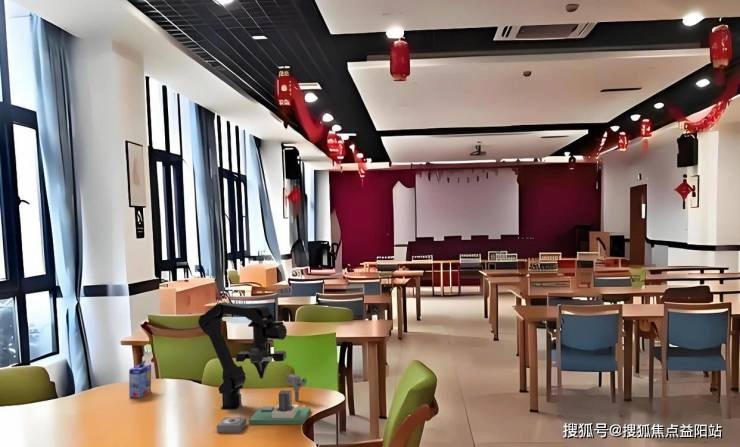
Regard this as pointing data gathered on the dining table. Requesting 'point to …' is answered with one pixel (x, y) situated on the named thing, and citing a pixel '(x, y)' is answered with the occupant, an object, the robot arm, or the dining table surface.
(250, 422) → the board
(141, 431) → the dining table surface
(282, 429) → the dining table surface
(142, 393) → the ink cartridge box
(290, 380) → the mechanical component
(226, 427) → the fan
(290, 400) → the plug
